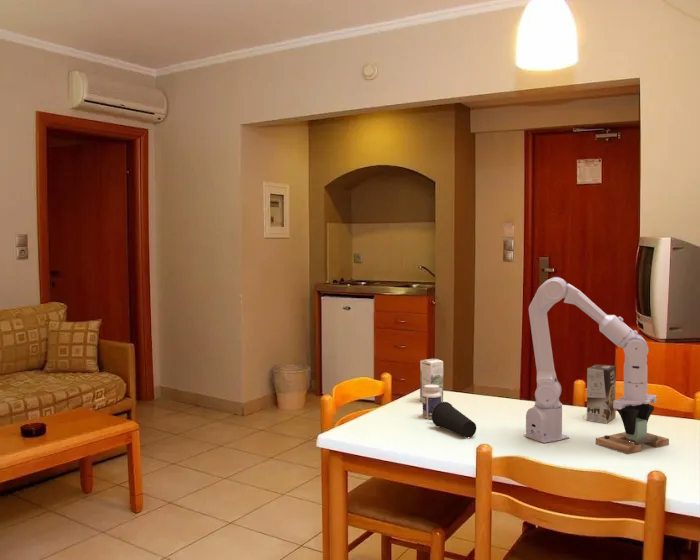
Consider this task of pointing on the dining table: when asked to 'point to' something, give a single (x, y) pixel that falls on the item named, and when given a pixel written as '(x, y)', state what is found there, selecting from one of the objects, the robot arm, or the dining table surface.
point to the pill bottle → (430, 399)
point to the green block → (639, 430)
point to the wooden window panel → (623, 444)
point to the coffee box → (601, 393)
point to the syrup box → (431, 375)
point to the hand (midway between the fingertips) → (635, 432)
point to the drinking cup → (452, 420)
